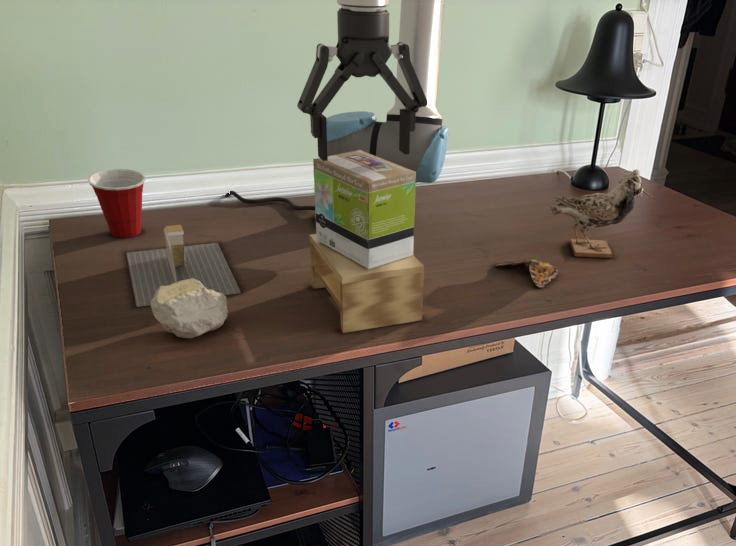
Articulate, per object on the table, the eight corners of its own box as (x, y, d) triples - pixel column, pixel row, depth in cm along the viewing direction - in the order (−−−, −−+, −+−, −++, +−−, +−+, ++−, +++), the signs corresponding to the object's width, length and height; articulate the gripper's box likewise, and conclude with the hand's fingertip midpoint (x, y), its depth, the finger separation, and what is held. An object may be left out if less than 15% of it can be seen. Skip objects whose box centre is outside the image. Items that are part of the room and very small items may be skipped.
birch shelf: (343, 333, 120) (341, 277, 115) (311, 286, 135) (309, 234, 130) (422, 320, 125) (424, 266, 120) (383, 276, 140) (383, 226, 135)
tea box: (314, 242, 126) (310, 156, 119) (360, 230, 132) (360, 147, 125) (367, 271, 117) (367, 179, 110) (415, 256, 123) (418, 169, 116)
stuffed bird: (645, 256, 154) (662, 175, 146) (559, 263, 149) (570, 179, 140) (621, 238, 162) (635, 161, 154) (538, 245, 157) (548, 165, 148)
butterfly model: (539, 288, 138) (540, 273, 136) (494, 266, 146) (495, 252, 144) (570, 278, 143) (572, 263, 141) (524, 257, 151) (526, 243, 149)
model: (185, 260, 142) (180, 222, 139) (193, 282, 134) (188, 242, 130) (168, 262, 141) (162, 223, 137) (175, 284, 133) (169, 244, 129)
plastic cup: (110, 246, 147) (99, 188, 140) (90, 230, 153) (79, 173, 147) (163, 235, 153) (154, 178, 147) (141, 220, 160) (132, 165, 154)
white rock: (243, 321, 122) (191, 316, 125) (236, 273, 119) (183, 269, 122) (202, 350, 112) (146, 343, 115) (194, 298, 108) (136, 292, 111)
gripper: (283, 11, 98) (293, 168, 109) (452, 10, 107) (445, 155, 118) (271, 5, 104) (281, 154, 115) (432, 5, 113) (427, 143, 124)
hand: (364, 155), depth 117 cm, fingers open, 13 cm apart
